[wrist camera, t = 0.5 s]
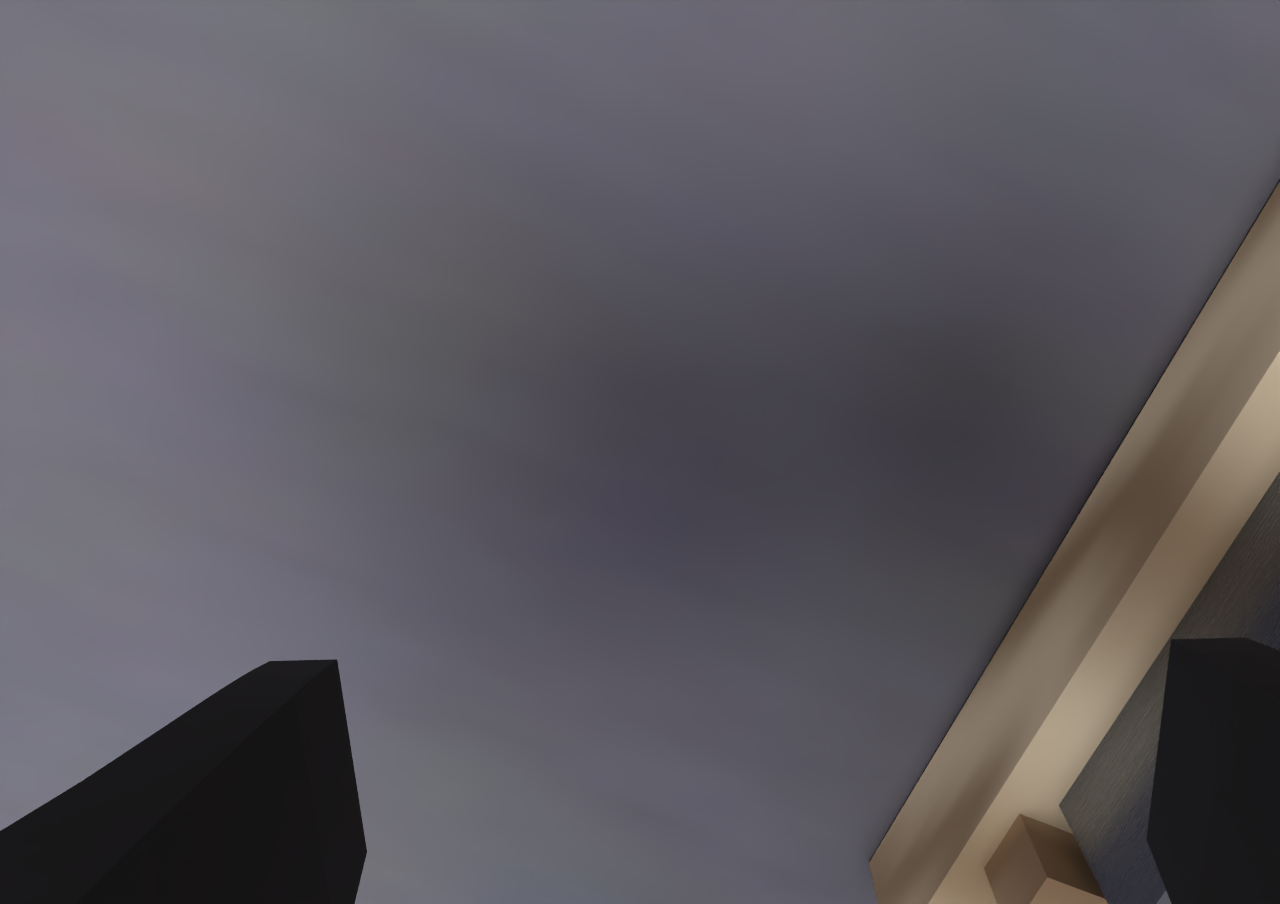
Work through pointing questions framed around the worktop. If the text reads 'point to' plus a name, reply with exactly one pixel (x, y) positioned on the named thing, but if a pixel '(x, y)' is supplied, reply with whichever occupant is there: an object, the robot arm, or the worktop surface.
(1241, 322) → the wooden block stand
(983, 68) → the worktop surface
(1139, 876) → the lever cap
